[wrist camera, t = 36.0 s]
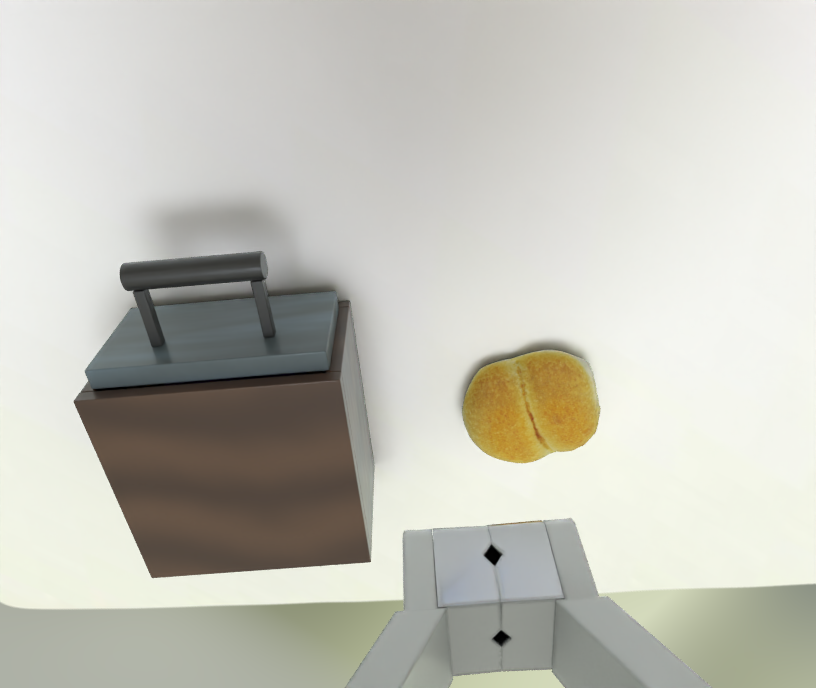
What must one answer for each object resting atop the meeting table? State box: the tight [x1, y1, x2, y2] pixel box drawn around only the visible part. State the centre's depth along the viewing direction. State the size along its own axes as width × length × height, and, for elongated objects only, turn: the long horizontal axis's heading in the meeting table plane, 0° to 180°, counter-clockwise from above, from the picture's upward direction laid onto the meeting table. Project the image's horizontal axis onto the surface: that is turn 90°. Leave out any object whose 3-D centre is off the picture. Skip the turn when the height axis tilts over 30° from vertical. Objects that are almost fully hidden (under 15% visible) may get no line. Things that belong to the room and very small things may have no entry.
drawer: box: [85, 251, 339, 389], centre depth 37 cm, size 17×12×7 cm
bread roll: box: [462, 350, 600, 463], centre depth 42 cm, size 8×9×4 cm
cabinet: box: [74, 301, 374, 578], centre depth 39 cm, size 14×14×9 cm
